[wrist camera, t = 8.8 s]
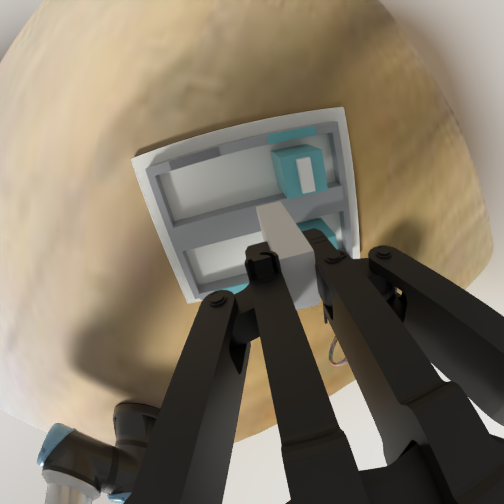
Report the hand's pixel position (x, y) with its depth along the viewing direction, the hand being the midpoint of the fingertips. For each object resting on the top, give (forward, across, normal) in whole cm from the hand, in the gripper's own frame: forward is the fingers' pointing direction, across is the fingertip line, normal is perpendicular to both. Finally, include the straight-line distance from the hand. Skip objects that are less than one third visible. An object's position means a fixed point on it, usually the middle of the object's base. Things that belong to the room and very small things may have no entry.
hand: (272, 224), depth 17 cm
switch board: (+15, 0, -4) cm, 16 cm away
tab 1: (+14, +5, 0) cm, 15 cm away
